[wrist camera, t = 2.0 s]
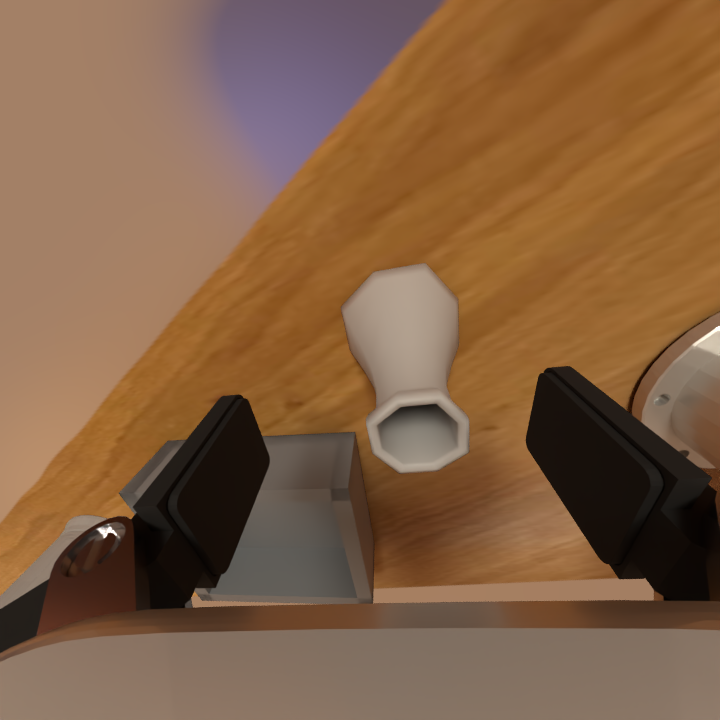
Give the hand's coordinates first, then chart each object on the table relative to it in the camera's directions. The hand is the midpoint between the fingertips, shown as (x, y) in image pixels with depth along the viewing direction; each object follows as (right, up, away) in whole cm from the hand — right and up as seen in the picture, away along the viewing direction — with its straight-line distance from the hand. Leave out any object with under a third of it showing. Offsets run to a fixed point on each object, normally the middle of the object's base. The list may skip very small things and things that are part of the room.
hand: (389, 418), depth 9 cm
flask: (+2, +4, +8) cm, 9 cm away
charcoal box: (-8, -11, +17) cm, 22 cm away
